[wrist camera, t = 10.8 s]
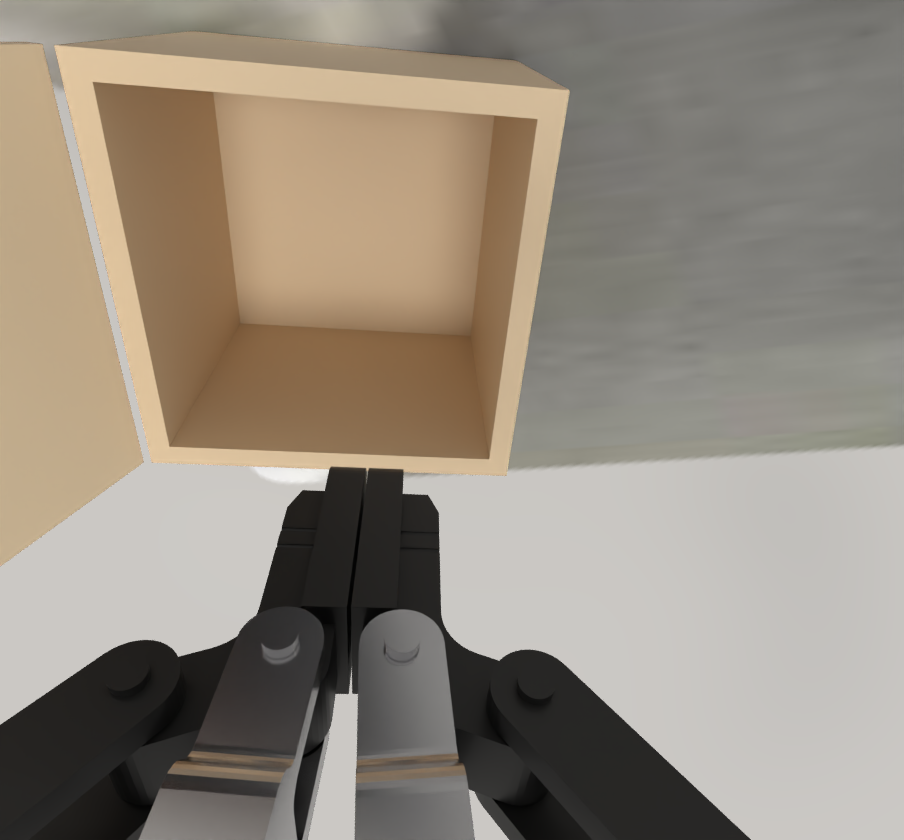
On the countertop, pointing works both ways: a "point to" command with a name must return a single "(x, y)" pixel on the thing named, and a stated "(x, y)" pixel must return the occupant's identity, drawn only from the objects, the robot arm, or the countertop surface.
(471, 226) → the carton
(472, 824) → the robot arm
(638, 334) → the countertop surface
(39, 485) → the lid flap
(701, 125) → the countertop surface
